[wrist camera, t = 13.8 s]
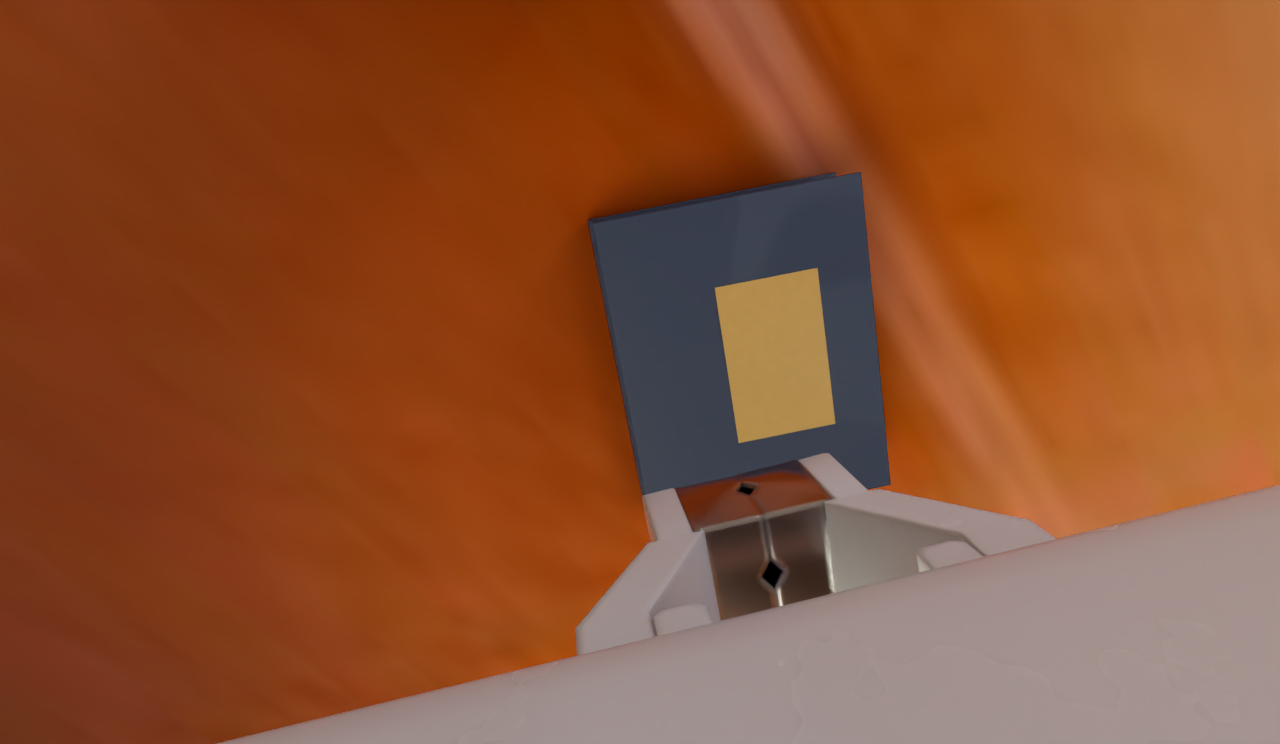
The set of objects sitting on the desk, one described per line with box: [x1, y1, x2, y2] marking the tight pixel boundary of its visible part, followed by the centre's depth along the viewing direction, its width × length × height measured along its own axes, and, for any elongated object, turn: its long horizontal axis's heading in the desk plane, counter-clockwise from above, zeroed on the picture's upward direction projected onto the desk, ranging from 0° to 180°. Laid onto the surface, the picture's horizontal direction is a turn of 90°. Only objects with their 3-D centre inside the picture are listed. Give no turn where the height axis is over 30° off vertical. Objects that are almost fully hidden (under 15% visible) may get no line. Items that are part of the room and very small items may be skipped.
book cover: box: [593, 172, 891, 495], centre depth 37 cm, size 13×16×2 cm
